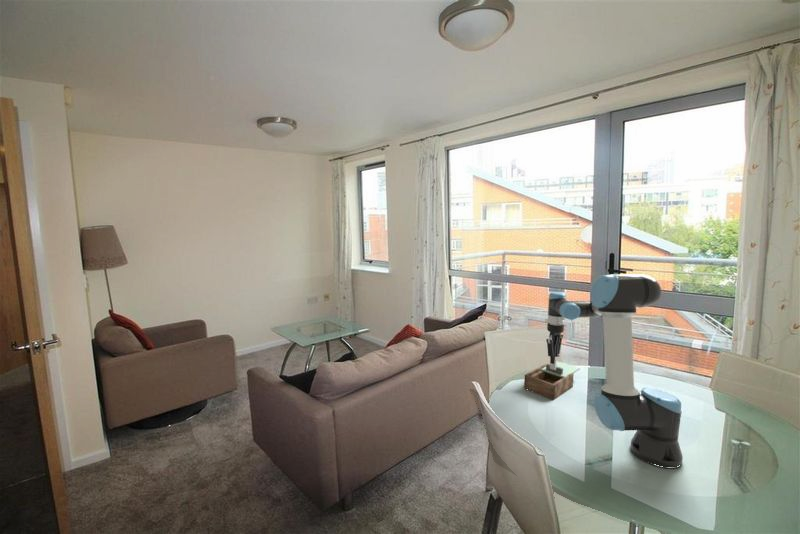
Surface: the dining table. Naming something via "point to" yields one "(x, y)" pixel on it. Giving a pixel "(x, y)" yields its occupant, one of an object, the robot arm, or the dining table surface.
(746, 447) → the dining table surface
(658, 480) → the dining table surface
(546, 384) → the box
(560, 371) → the mint green panel
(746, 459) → the dining table surface
